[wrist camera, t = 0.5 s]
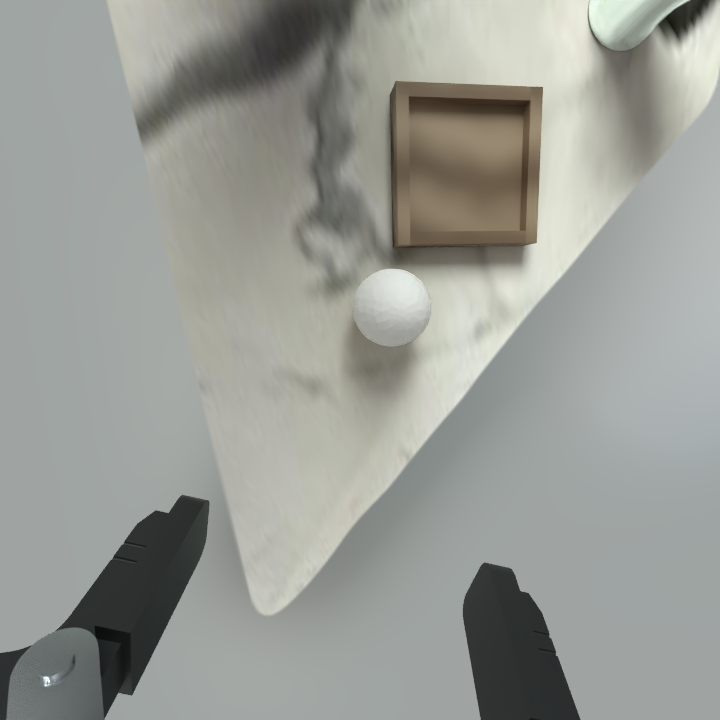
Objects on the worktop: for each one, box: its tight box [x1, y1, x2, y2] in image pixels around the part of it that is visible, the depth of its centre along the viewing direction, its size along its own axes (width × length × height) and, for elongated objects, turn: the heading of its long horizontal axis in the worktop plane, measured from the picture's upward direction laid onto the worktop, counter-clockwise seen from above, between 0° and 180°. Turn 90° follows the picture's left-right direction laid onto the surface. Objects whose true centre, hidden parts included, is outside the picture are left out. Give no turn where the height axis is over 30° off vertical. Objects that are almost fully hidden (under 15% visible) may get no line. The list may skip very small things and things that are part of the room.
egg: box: [353, 269, 431, 347], centre depth 31 cm, size 6×6×8 cm
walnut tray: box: [390, 81, 543, 248], centre depth 33 cm, size 12×12×2 cm
